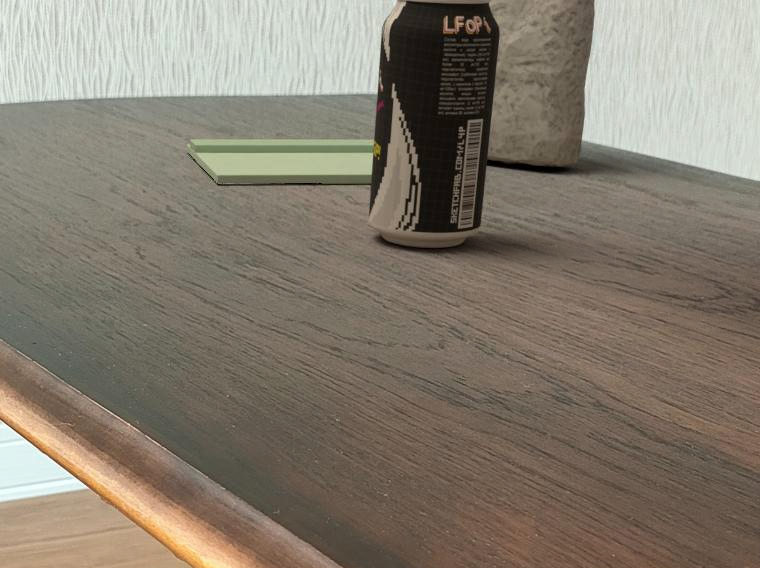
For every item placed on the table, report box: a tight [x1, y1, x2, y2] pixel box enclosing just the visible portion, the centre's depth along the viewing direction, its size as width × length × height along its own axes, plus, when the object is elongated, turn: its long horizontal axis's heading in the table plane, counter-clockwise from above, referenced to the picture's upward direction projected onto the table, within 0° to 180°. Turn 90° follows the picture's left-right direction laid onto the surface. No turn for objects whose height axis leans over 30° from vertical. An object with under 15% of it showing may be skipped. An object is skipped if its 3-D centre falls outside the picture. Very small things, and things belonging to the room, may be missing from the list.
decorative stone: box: [487, 0, 596, 168], centre depth 96 cm, size 11×6×15 cm, turn 46°
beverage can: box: [368, 0, 500, 249], centre depth 72 cm, size 6×6×12 cm
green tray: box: [186, 138, 374, 185], centre depth 94 cm, size 16×12×1 cm
